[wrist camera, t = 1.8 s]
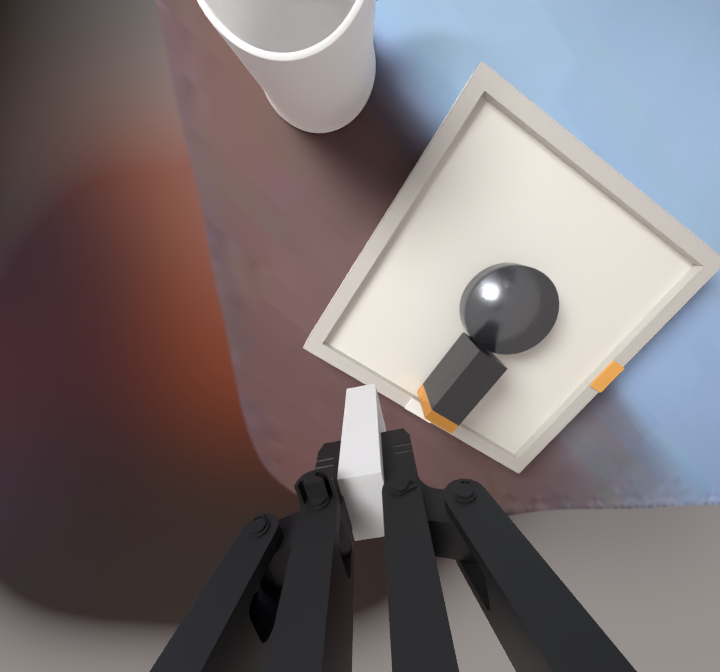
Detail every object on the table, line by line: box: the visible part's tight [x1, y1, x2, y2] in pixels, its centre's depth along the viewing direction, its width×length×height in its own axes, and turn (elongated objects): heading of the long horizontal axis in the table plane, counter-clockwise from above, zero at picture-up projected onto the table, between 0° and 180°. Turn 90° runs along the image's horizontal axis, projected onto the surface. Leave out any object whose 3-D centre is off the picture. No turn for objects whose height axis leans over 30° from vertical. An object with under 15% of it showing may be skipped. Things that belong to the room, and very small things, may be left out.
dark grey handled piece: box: [417, 263, 559, 434], centre depth 27 cm, size 14×7×4 cm, turn 147°
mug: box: [197, 0, 377, 133], centre depth 19 cm, size 12×8×12 cm
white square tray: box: [303, 61, 720, 474], centre depth 29 cm, size 24×24×3 cm
